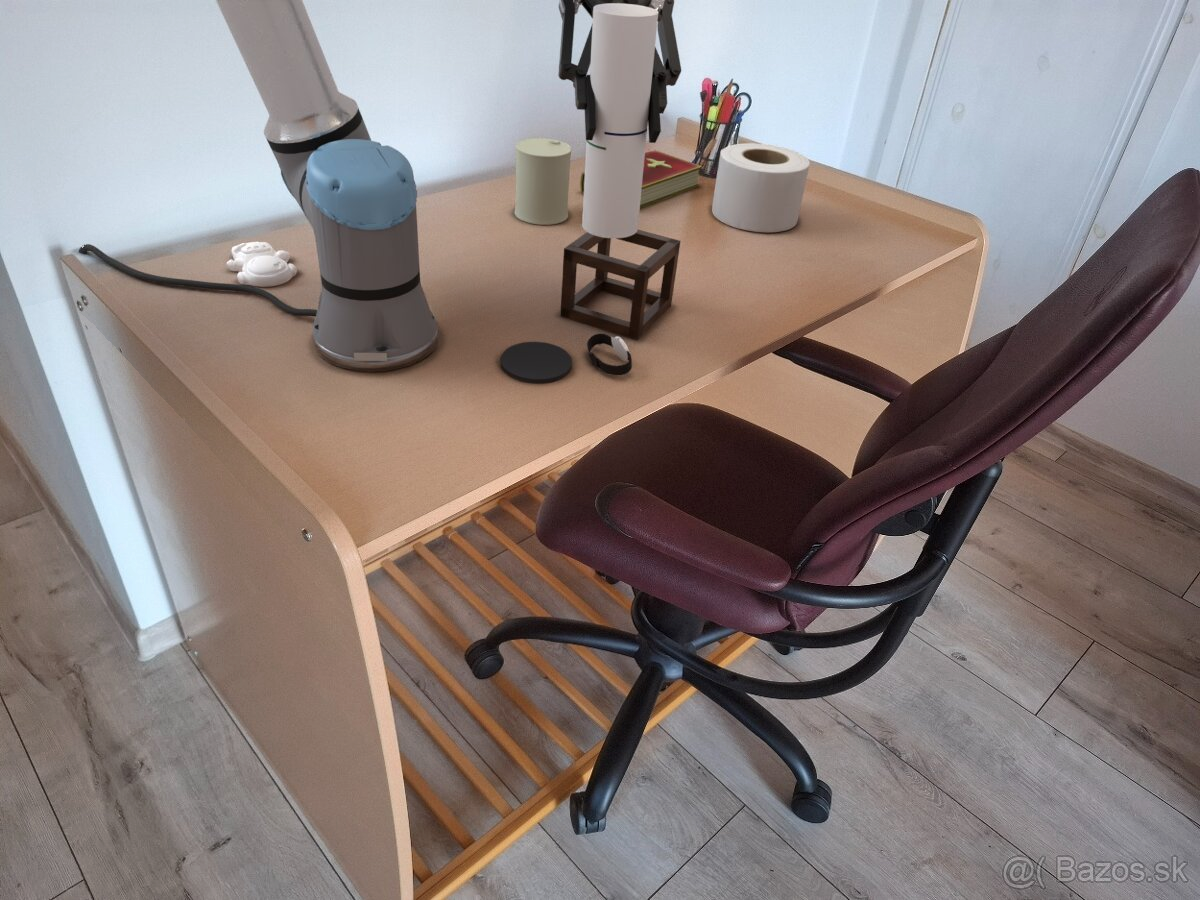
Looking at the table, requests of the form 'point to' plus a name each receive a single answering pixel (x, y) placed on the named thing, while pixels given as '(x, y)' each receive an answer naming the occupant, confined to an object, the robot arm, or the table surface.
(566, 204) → the can
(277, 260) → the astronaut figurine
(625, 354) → the watch
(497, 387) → the table surface
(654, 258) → the rack
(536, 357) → the coaster
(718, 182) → the white paper roll
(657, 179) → the hardcover book
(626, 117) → the cylindrical container
